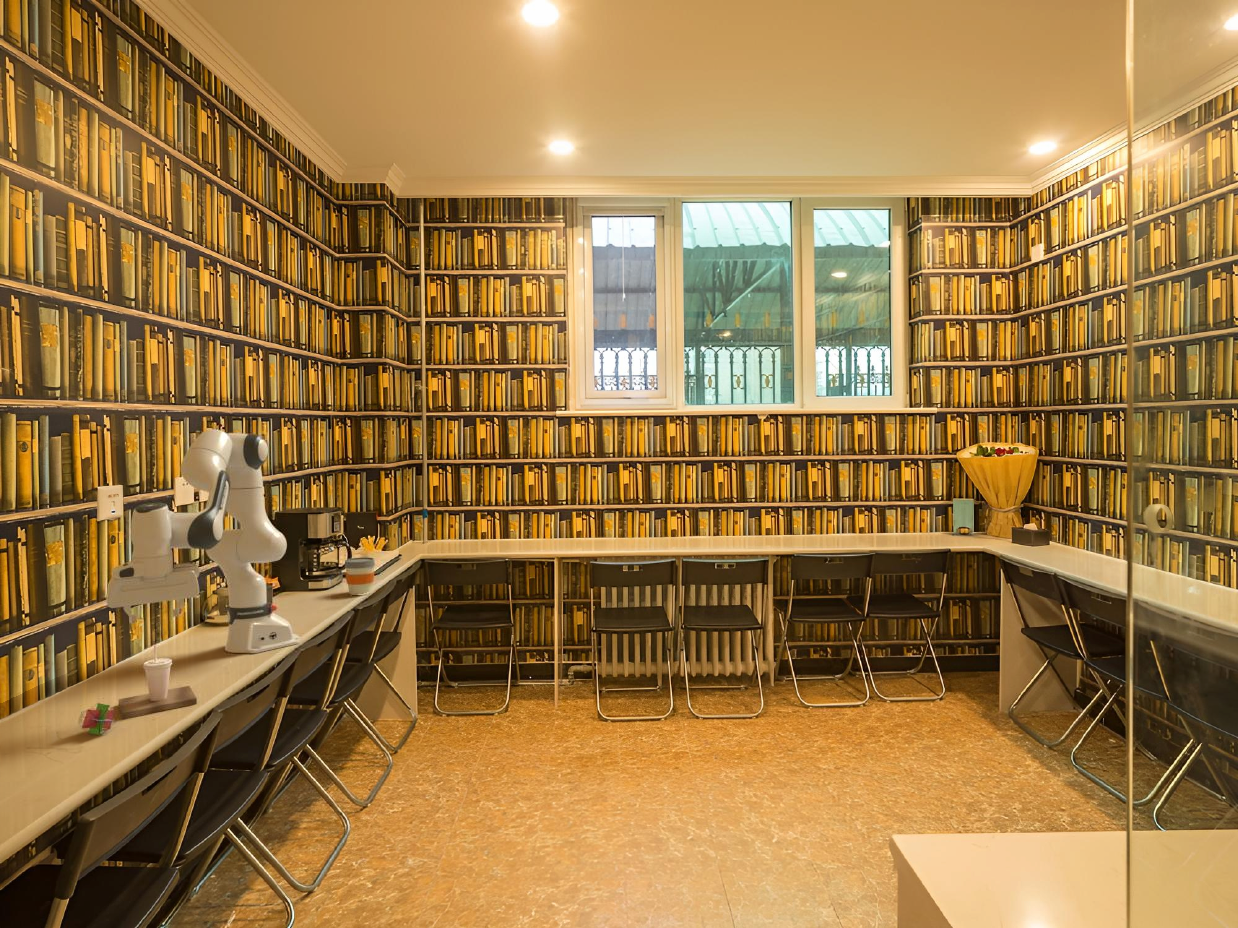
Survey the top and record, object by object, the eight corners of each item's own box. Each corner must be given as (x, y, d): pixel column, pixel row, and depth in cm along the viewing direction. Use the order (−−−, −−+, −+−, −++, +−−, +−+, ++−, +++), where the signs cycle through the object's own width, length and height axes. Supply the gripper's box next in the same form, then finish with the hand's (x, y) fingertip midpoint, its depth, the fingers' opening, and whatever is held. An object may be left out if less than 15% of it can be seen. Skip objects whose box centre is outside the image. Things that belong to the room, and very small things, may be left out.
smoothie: (154, 693, 193) (153, 641, 192) (178, 693, 193) (177, 641, 192) (138, 702, 186) (136, 648, 186) (162, 702, 186) (161, 649, 186)
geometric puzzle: (112, 713, 178) (90, 694, 173) (131, 717, 175) (109, 697, 171) (88, 739, 173) (65, 720, 168) (107, 744, 170) (84, 725, 165)
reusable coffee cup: (380, 593, 320) (380, 559, 319) (353, 598, 311) (352, 563, 310) (366, 589, 328) (366, 556, 328) (340, 593, 319) (339, 559, 319)
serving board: (189, 690, 199) (189, 685, 199) (196, 703, 190) (196, 697, 190) (118, 704, 189) (118, 699, 189) (122, 718, 180) (122, 712, 180)
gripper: (196, 559, 197) (198, 610, 197) (104, 569, 184) (106, 623, 185) (200, 563, 192) (202, 614, 192) (106, 573, 179) (108, 628, 180)
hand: (155, 619), depth 188 cm, fingers open, 8 cm apart
